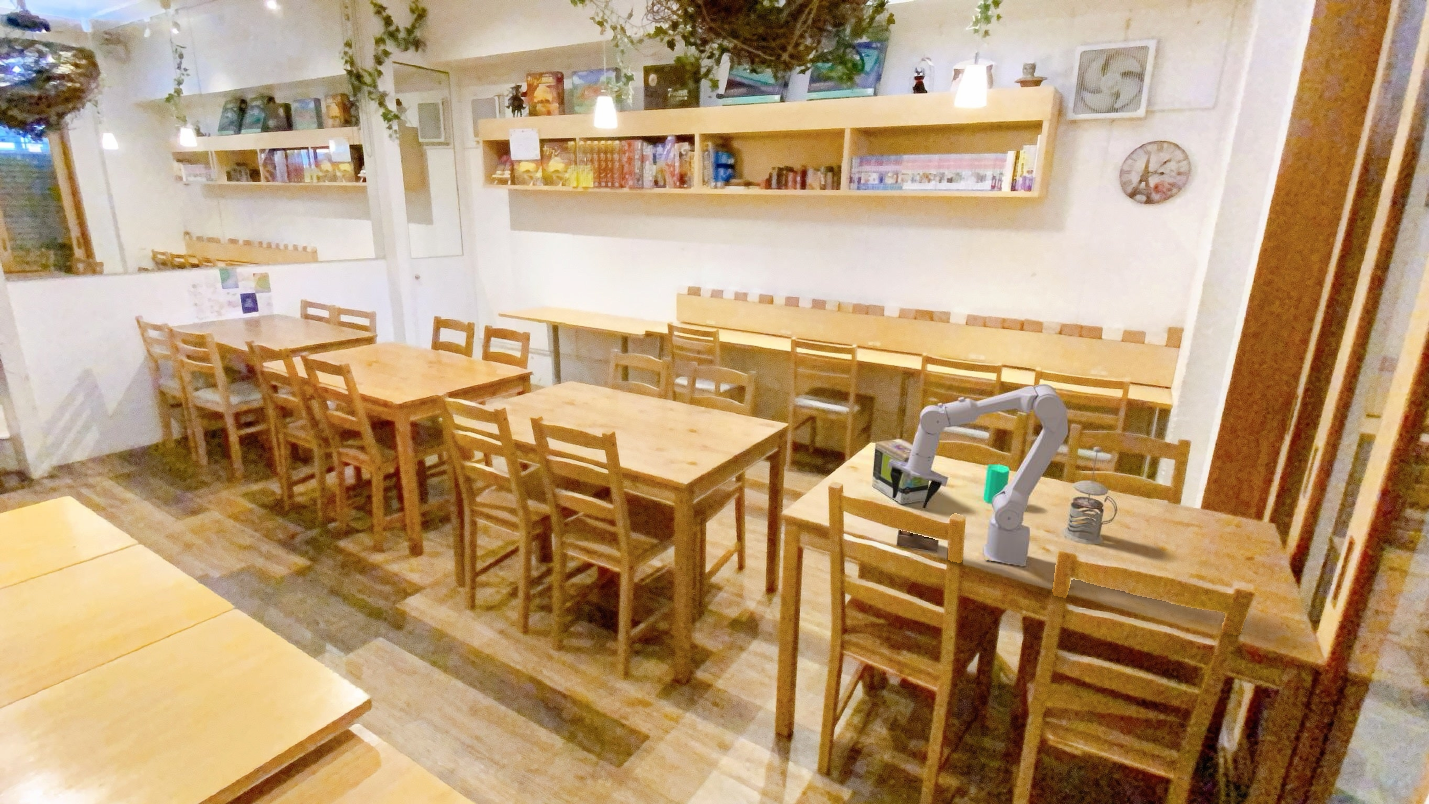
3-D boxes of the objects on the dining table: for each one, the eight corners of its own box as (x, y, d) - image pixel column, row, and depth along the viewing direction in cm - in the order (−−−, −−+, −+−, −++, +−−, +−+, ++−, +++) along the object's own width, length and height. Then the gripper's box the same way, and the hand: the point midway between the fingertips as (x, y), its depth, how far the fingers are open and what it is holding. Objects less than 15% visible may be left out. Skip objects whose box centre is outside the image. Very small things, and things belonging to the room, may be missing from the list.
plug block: (937, 544, 178) (939, 533, 177) (937, 552, 174) (938, 541, 173) (897, 538, 181) (898, 527, 180) (896, 545, 177) (897, 535, 176)
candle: (981, 502, 203) (986, 464, 199) (984, 494, 208) (989, 457, 204) (1003, 506, 200) (1009, 468, 197) (1005, 499, 205) (1011, 461, 202)
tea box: (928, 500, 204) (933, 453, 199) (900, 505, 200) (904, 457, 196) (897, 481, 217) (901, 437, 213) (870, 486, 213) (874, 441, 209)
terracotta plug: (913, 532, 179) (915, 519, 178) (912, 538, 175) (914, 525, 174) (899, 529, 180) (900, 517, 179) (898, 535, 176) (899, 523, 175)
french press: (1066, 523, 190) (1081, 437, 183) (1114, 536, 183) (1131, 447, 176) (1057, 536, 183) (1072, 447, 175) (1106, 550, 175) (1123, 458, 168)
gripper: (890, 448, 170) (877, 497, 174) (950, 467, 164) (935, 517, 169) (896, 440, 176) (884, 488, 180) (954, 458, 170) (940, 507, 175)
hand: (909, 501), depth 175 cm, fingers open, 7 cm apart
